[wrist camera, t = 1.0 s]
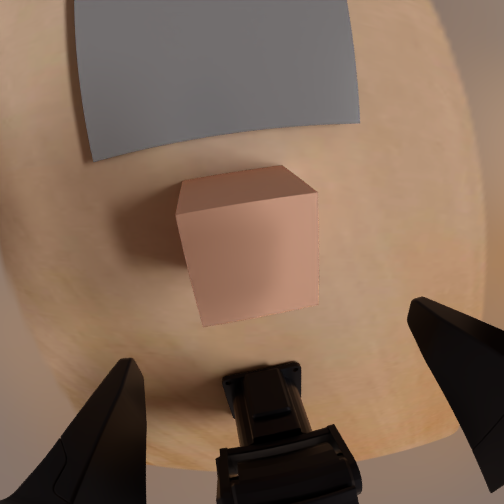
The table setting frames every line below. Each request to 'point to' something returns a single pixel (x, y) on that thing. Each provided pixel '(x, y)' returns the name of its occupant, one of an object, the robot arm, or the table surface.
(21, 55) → the table surface
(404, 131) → the table surface
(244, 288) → the terracotta block
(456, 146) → the table surface
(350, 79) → the slate board
